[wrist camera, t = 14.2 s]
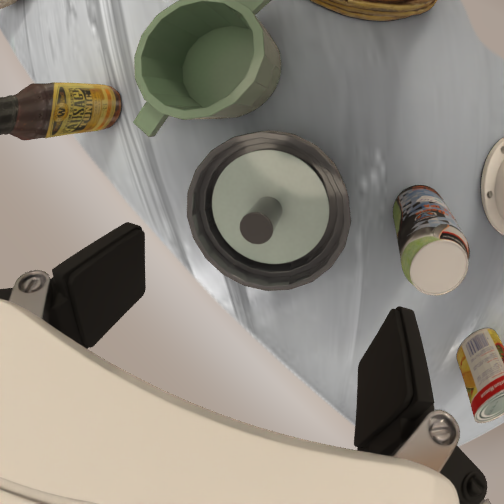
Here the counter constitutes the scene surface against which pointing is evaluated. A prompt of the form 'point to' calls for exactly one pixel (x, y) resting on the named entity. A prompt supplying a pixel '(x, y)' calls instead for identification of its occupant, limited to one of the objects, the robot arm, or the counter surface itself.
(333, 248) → the pan
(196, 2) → the pot
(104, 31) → the counter surface
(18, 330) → the robot arm
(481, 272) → the counter surface
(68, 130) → the sauce bottle
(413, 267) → the beverage can
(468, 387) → the canned food
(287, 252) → the lid
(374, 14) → the tankard
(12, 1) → the beige rounded lump
